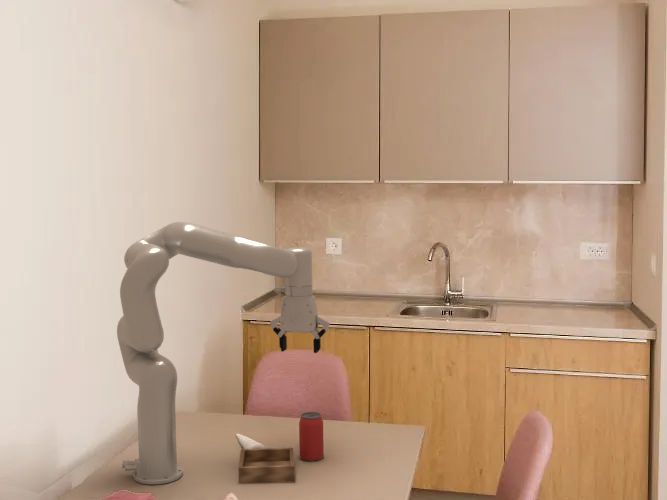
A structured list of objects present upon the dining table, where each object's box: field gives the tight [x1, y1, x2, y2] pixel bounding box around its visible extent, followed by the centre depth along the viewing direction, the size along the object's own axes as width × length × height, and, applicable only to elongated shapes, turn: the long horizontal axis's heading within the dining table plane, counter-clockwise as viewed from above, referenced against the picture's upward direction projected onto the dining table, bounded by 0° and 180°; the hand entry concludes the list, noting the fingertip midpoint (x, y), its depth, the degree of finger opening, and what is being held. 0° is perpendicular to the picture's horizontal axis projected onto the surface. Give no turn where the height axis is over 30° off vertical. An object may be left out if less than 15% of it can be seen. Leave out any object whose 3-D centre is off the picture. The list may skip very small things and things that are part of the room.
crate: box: [238, 447, 295, 484], centre depth 207 cm, size 14×14×4 cm
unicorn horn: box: [235, 433, 266, 449], centre depth 226 cm, size 5×24×5 cm, turn 18°
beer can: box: [298, 411, 325, 462], centre depth 217 cm, size 7×7×12 cm
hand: (300, 351), depth 225 cm, fingers open, 9 cm apart
